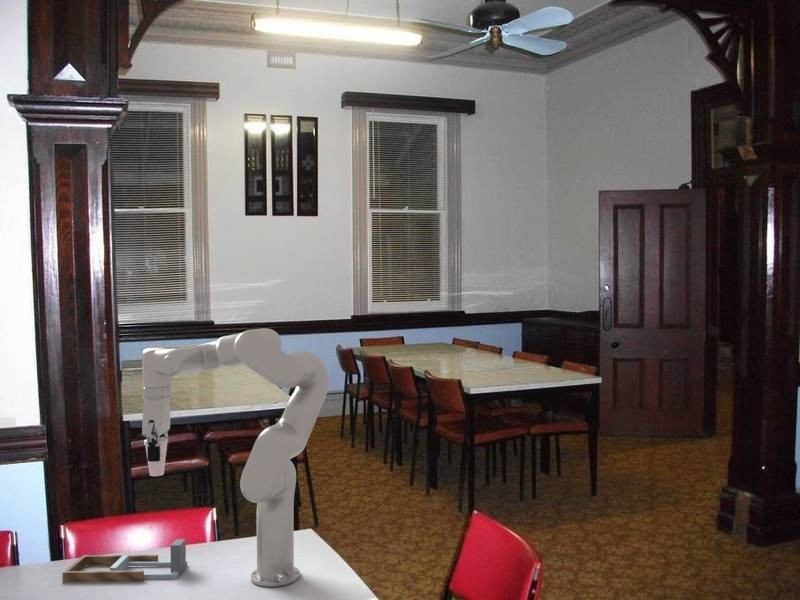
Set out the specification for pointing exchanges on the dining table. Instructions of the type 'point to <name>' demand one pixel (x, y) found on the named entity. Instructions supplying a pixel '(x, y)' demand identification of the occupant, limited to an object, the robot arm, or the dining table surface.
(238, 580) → the dining table surface
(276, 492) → the robot arm
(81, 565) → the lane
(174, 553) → the sled
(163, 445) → the smoothie
